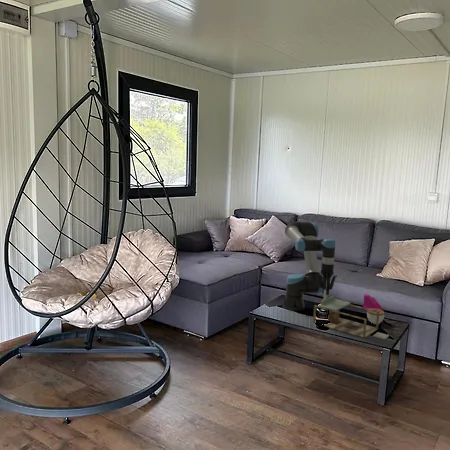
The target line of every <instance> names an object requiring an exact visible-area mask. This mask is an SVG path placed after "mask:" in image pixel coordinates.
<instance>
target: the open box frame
mask: <svg viewBox="0 0 450 450" xmlns="http://www.w3.org/2000/svg"><path fill="white" fill-rule="evenodd" d="M348 306H349V307H354V308H358V309H362V310H363V309H366V310H365V311H367V310H369V311H373V312H377V320H376V324H375V326H372V325H367V323H368V322H367V321H368V318H365V317H362V316H357V315H353V314H350V313H345V312H342V311H340V312H339V311H334V310H331V309H327V308H323V307H319V305H316V304H315V305H313V316H312V317H313V320H312V323H313V324H315V323H316V317H317V315H316V314H317V308H318V309H322V310H326V311H328V310H329V311H333V312H336V313H340V314H341V315H344V316H349V317H352V318H356V319H359V320H363V323H360V322H357V321H353V320H350V319H346V318H342V317H339V322H337V323H332V322H330V323H328V324H324V326H323V327H326V328H330V329H333V330H336V331H340V332H343V333H346V334H350V335H354V336H356V337H360V338H364V339H366V338H367V337H368V336H370V335H372V334H373V333H374V332H376V331H377V330H379V324H378V322H379V311H375V310H371V309H367V308H363V306H358V305H354V304H352V303H351V304H349V305H348ZM340 314H339V315H340ZM322 325H323V324H322ZM322 325H321V326H322Z"/></svg>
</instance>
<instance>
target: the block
mask: <svg viewBox="0 0 450 450" xmlns="http://www.w3.org/2000/svg"><path fill="white" fill-rule="evenodd" d="M340 310H341V309H339V310H337V311H339V312H341V311H340ZM339 318H340V313H336V312H333V311H329V315H328V320H329V321H330V322H332V323H337V322H339Z"/></svg>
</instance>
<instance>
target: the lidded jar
mask: <svg viewBox="0 0 450 450" xmlns="http://www.w3.org/2000/svg"><path fill="white" fill-rule="evenodd" d="M371 310H375V311H379V322H378V325H380V324H381V323H382V322H383V321H384V318H385V310H383V309H382V310H380V309H377V308H375V309H374V308H371ZM366 317H367V318H366V319H367V321H368V322H369V323H370V322H371V323H370V324H372V323H373V325H376V320H377V312H373V311H369V310H366Z"/></svg>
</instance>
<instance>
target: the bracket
mask: <svg viewBox="0 0 450 450" xmlns="http://www.w3.org/2000/svg"><path fill="white" fill-rule="evenodd" d="M362 305H363V306H362V307H363V308H367V309H371V308H374V309H375V308H377V309H380V310H383V309H384V308H383V306H382V305H381V304H380V303H379V302H378V301H377V299H376V298H375V297H374V296H371V295H370V294H367V293H365V294H364V295H363V304H362Z"/></svg>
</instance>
